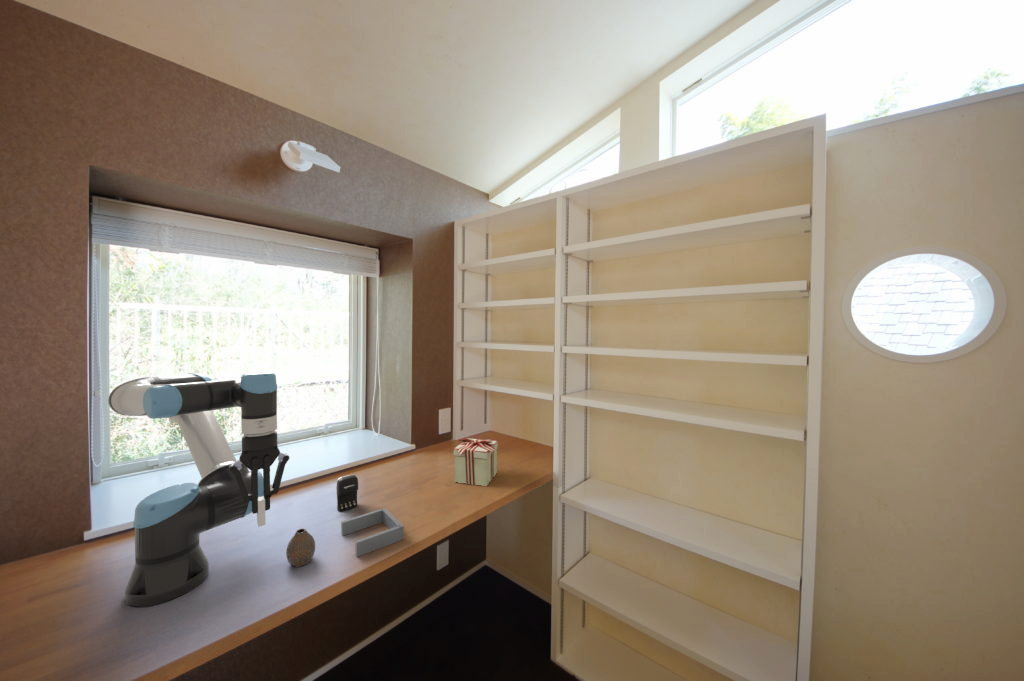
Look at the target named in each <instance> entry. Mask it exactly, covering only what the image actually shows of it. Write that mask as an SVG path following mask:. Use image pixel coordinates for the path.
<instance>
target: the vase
mask: <svg viewBox="0 0 1024 681" xmlns="http://www.w3.org/2000/svg"><path fill="white" fill-rule="evenodd" d="M315 541H316V540H315V539H314V536H313V535H311V534H310V533H309V532H308V531H307V529H306V528H299V529H297V530H296V531H295V533H294V534H293V537H292V538H290V540H289V542H288V544H287V546H286V550H285V551H286V552H285V553H286V554H285V555H286V559H287V562H288V564H289V565H291V566H292V567H295V566H299V567H302V565H303V566H305V565H307V564H308V563H309V562H310V561H311V560H312V559H313V557H314V555H315V551H316V542H315Z"/></svg>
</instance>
